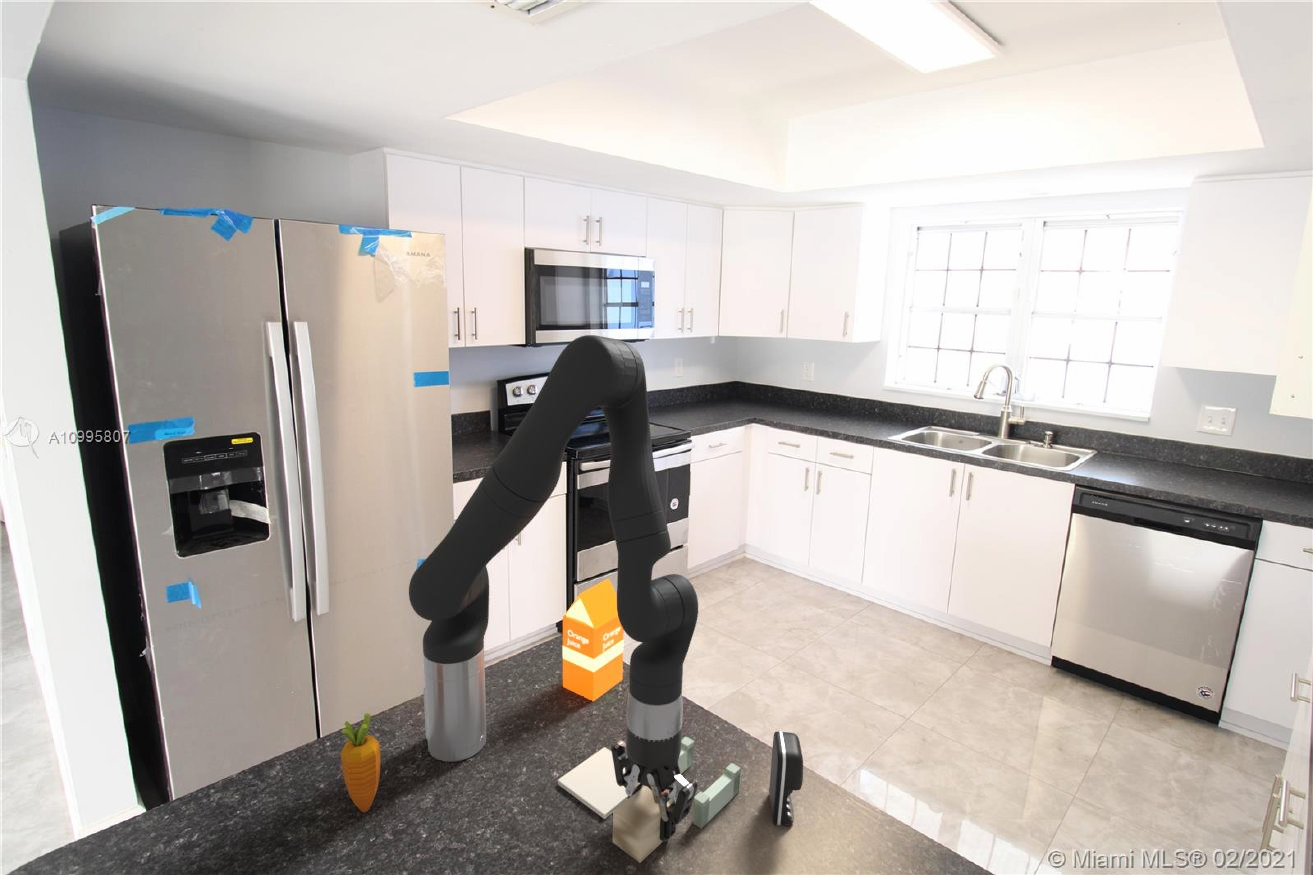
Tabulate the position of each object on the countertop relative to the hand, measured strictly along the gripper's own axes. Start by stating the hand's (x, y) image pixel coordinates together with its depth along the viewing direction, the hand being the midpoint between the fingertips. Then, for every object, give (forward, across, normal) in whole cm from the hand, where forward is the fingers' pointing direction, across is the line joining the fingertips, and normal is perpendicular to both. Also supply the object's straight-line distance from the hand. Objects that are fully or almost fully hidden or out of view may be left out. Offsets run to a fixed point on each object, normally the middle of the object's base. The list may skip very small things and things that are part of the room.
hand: (650, 825), depth 93 cm
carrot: (+1, +32, +25) cm, 41 cm away
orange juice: (+1, +31, -19) cm, 36 cm away
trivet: (+1, +11, -2) cm, 11 cm away
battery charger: (+1, -12, -16) cm, 20 cm away
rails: (+1, 0, -10) cm, 10 cm away
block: (+1, 0, +2) cm, 2 cm away
